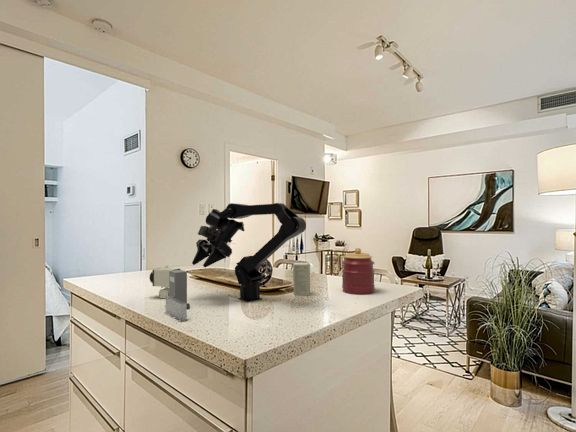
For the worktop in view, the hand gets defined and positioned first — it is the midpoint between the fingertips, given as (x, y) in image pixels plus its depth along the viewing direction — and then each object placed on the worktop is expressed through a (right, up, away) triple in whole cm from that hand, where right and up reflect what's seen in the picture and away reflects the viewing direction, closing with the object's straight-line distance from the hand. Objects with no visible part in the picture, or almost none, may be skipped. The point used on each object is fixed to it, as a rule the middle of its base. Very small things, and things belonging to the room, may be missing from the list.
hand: (198, 265), depth 117 cm
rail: (-2, -13, -17) cm, 21 cm away
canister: (+60, -13, +17) cm, 64 cm away
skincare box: (+37, -13, +12) cm, 42 cm away
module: (-6, -13, -5) cm, 15 cm away
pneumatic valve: (-14, -14, +9) cm, 22 cm away
